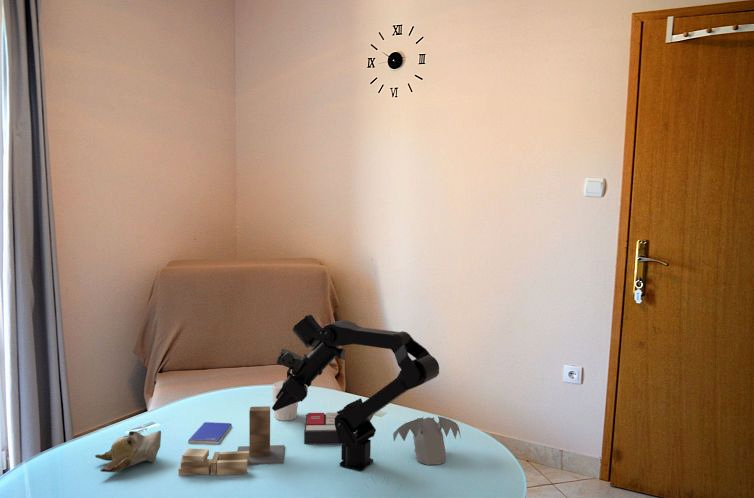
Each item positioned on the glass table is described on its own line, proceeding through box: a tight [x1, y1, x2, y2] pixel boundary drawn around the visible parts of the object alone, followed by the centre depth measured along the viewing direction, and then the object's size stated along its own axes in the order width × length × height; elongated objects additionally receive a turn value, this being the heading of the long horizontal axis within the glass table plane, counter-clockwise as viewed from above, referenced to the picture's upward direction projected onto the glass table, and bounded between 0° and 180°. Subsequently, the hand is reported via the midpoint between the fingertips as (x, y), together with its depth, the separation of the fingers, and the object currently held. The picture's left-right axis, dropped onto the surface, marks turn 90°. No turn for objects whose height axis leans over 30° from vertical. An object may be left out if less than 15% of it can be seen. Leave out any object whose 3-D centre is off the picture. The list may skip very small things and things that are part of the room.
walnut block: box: [248, 405, 271, 457], centre depth 152 cm, size 5×3×12 cm, turn 96°
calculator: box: [303, 412, 342, 445], centre depth 168 cm, size 11×4×15 cm
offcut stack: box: [177, 448, 212, 476], centre depth 144 cm, size 7×6×4 cm
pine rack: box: [210, 450, 250, 476], centre depth 145 cm, size 8×6×3 cm
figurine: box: [392, 415, 462, 466], centre depth 155 cm, size 18×13×11 cm
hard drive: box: [187, 421, 233, 445], centre depth 165 cm, size 2×8×12 cm
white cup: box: [272, 380, 299, 422], centre depth 179 cm, size 8×8×10 cm
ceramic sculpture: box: [94, 429, 162, 473], centre depth 146 cm, size 11×9×15 cm
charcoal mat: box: [236, 444, 285, 465], centre depth 153 cm, size 12×10×1 cm
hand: (275, 403), depth 152 cm, fingers open, 9 cm apart
